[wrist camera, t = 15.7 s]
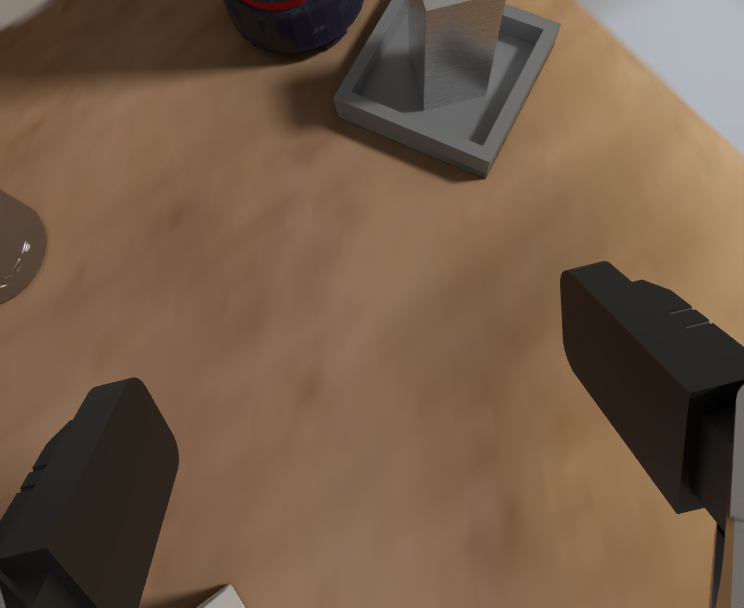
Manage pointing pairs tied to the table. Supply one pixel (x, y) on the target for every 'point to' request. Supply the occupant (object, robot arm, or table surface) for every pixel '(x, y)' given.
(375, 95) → the tray
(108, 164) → the table surface
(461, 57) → the grey tall block
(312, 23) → the grenade
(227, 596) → the skincare box
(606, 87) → the table surface
